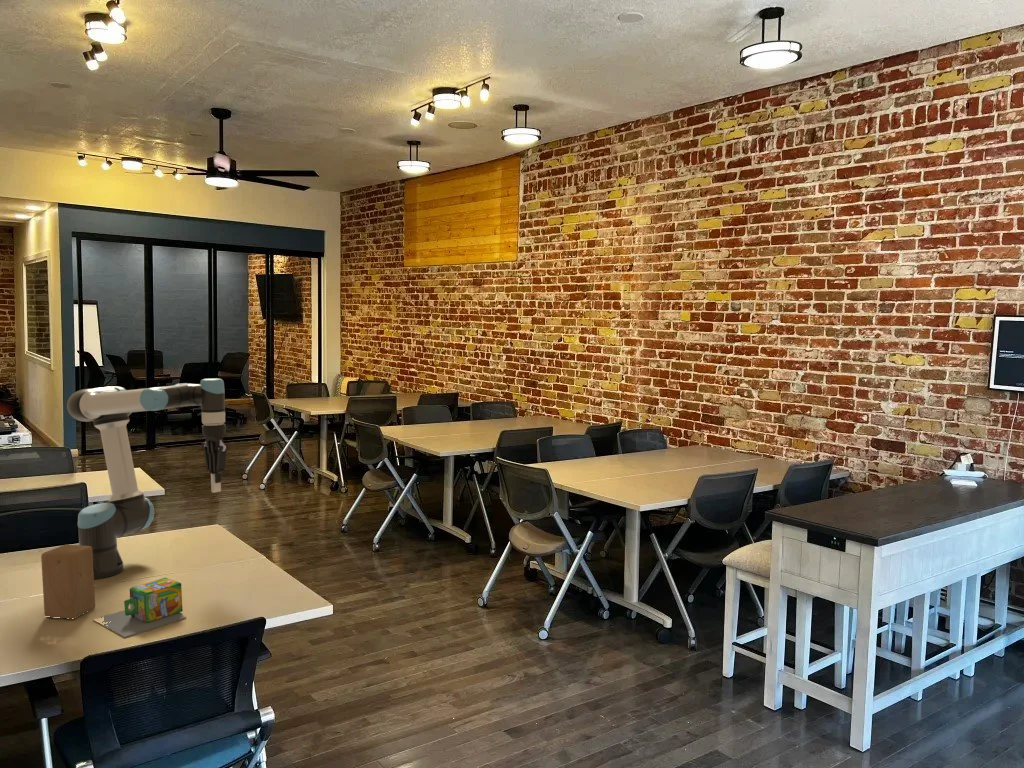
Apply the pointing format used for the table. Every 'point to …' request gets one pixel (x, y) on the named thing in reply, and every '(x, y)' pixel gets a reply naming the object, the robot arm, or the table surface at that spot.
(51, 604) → the wooden block
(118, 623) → the mat
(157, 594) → the chalk box
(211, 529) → the table surface
